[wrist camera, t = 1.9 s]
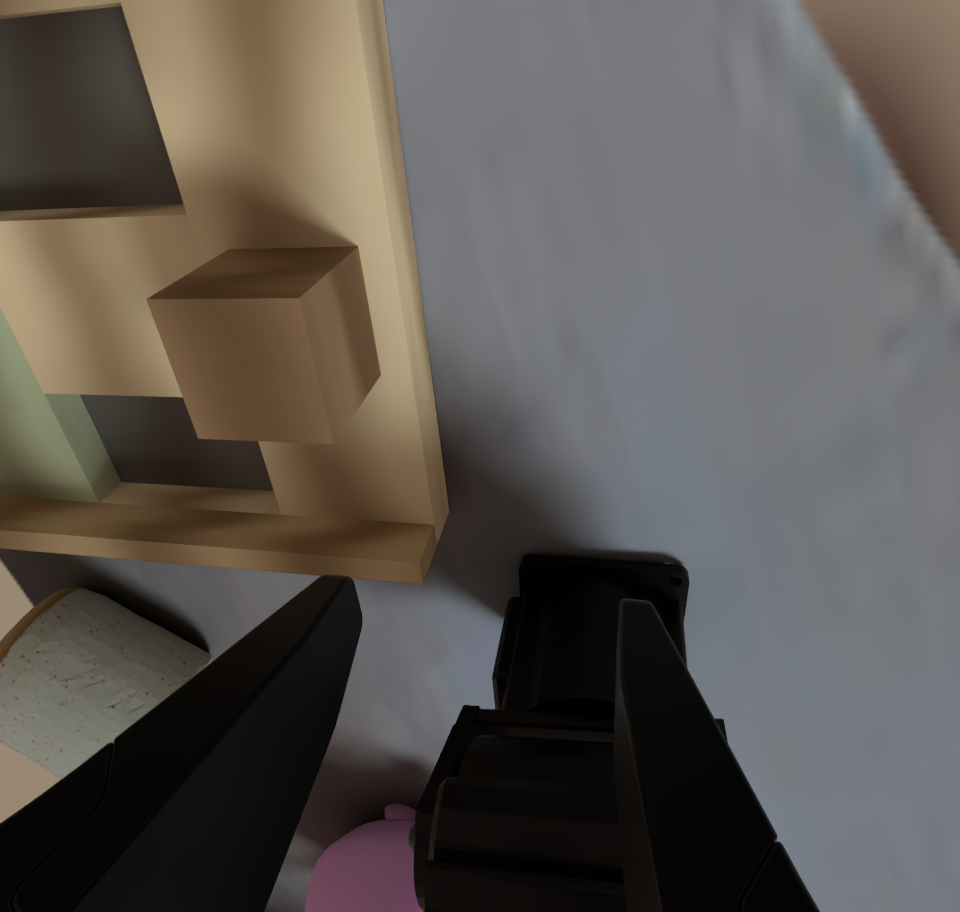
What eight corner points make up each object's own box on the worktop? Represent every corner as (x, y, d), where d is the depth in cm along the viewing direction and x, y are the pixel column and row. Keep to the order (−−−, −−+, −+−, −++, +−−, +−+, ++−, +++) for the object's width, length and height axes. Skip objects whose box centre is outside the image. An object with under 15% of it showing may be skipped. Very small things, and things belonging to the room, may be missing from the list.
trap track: (373, -71, 16) (306, -92, 13) (449, 511, 26) (422, 584, 22) (-254, 6, 20) (-427, 6, 16) (22, 485, 30) (-52, 544, 26)
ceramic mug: (80, 548, 32) (-56, 683, 25) (231, 631, 33) (137, 777, 27) (48, 648, 38) (-68, 776, 32) (176, 714, 39) (90, 848, 33)
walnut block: (358, 246, 18) (299, 298, 15) (381, 375, 20) (333, 444, 17) (228, 249, 19) (146, 299, 16) (264, 372, 21) (198, 438, 18)
